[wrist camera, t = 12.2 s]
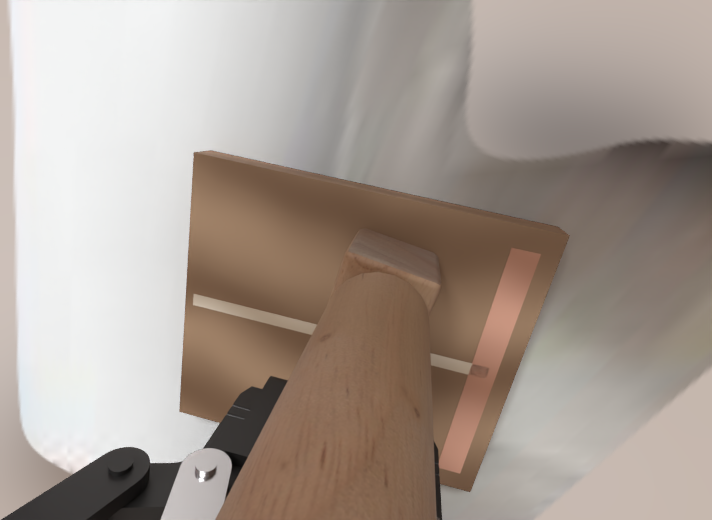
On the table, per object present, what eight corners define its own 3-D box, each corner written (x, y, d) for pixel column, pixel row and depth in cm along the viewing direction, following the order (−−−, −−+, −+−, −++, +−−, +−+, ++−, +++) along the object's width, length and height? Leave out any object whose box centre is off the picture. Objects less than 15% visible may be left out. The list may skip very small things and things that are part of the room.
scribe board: (211, 150, 19) (193, 152, 18) (557, 226, 18) (569, 235, 16) (194, 394, 24) (179, 411, 22) (466, 468, 22) (470, 492, 21)
